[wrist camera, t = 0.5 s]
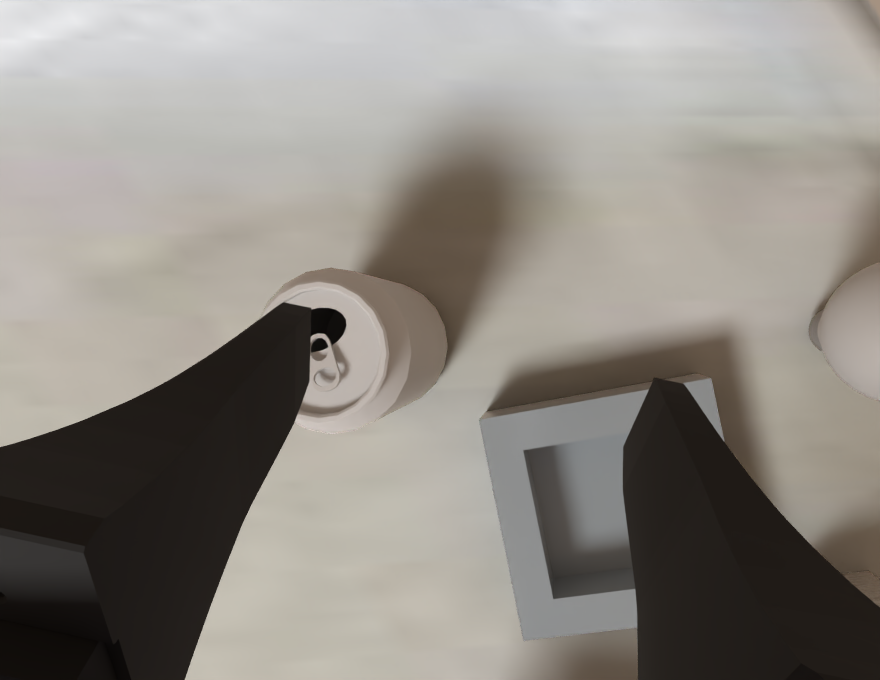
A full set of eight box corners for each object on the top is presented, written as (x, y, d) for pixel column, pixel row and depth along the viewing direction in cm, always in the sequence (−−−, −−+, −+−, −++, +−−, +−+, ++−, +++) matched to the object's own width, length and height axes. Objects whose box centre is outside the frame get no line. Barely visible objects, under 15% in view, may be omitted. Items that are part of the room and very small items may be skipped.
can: (428, 266, 39) (371, 240, 28) (466, 386, 39) (424, 412, 27) (315, 304, 41) (214, 295, 29) (350, 421, 40) (263, 460, 29)
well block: (741, 586, 36) (760, 613, 33) (526, 612, 39) (523, 640, 35) (697, 373, 37) (711, 378, 33) (486, 411, 39) (478, 419, 35)
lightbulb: (895, 275, 35) (1045, 252, 24) (887, 391, 35) (1033, 420, 24) (771, 271, 36) (861, 247, 25) (763, 383, 36) (850, 408, 25)
